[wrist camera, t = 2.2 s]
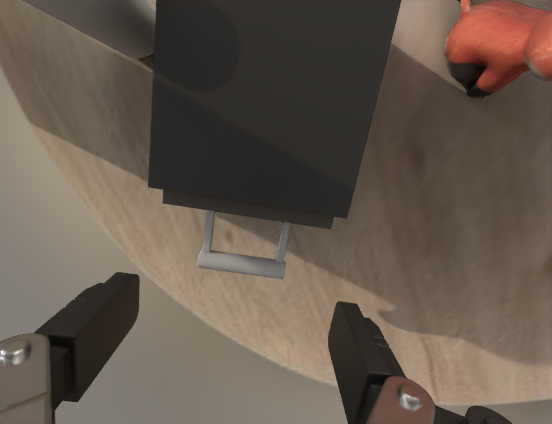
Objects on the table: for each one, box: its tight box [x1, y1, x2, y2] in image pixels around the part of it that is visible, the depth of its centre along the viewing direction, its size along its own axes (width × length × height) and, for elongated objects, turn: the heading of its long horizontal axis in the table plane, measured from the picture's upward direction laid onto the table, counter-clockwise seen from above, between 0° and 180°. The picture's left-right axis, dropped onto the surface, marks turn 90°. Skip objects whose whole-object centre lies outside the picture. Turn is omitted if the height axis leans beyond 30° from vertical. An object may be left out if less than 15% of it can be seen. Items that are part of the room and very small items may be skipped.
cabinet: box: [148, 0, 401, 218], centre depth 20 cm, size 15×13×10 cm
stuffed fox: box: [444, 0, 552, 98], centre depth 18 cm, size 8×11×12 cm
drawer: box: [163, 190, 334, 279], centre depth 22 cm, size 19×12×8 cm, turn 170°
